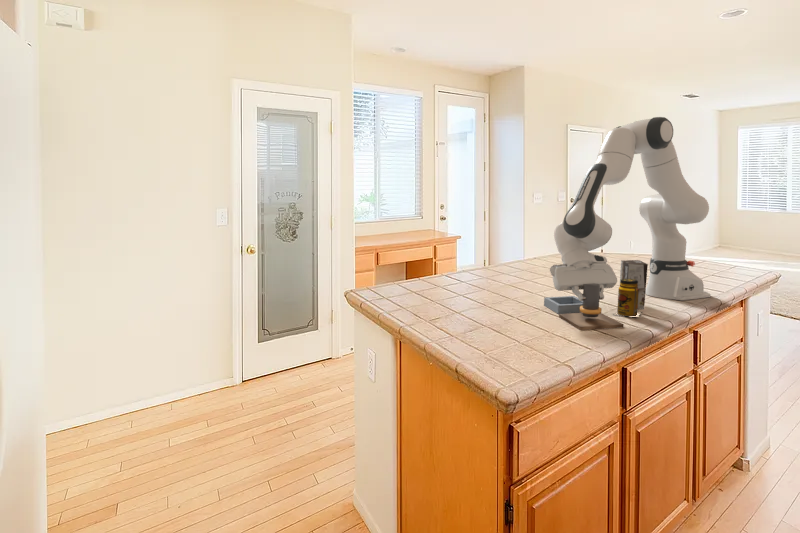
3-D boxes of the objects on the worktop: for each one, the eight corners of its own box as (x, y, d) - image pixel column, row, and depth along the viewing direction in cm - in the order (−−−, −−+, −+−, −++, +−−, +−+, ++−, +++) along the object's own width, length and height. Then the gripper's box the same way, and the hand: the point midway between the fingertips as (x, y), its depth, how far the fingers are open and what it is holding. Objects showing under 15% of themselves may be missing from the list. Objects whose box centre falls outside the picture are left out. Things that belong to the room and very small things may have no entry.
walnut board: (598, 314, 149) (598, 311, 149) (623, 327, 136) (623, 324, 136) (558, 316, 148) (559, 314, 148) (580, 330, 134) (580, 326, 134)
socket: (573, 303, 164) (573, 295, 163) (589, 312, 153) (590, 303, 152) (543, 305, 163) (544, 297, 162) (558, 314, 151) (558, 305, 151)
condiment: (613, 315, 149) (615, 280, 147) (619, 309, 155) (622, 276, 153) (637, 318, 144) (639, 282, 142) (643, 312, 150) (645, 278, 148)
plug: (594, 311, 145) (595, 282, 143) (605, 317, 139) (607, 286, 137) (575, 313, 144) (577, 283, 143) (585, 318, 138) (587, 287, 136)
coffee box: (645, 309, 154) (648, 264, 151) (625, 309, 155) (628, 263, 152) (636, 302, 163) (639, 259, 160) (618, 302, 164) (620, 259, 161)
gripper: (551, 259, 144) (564, 295, 136) (610, 256, 146) (626, 292, 138) (545, 270, 149) (557, 306, 141) (602, 267, 151) (617, 302, 144)
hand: (592, 299), depth 140 cm, fingers closed on plug, 5 cm apart
